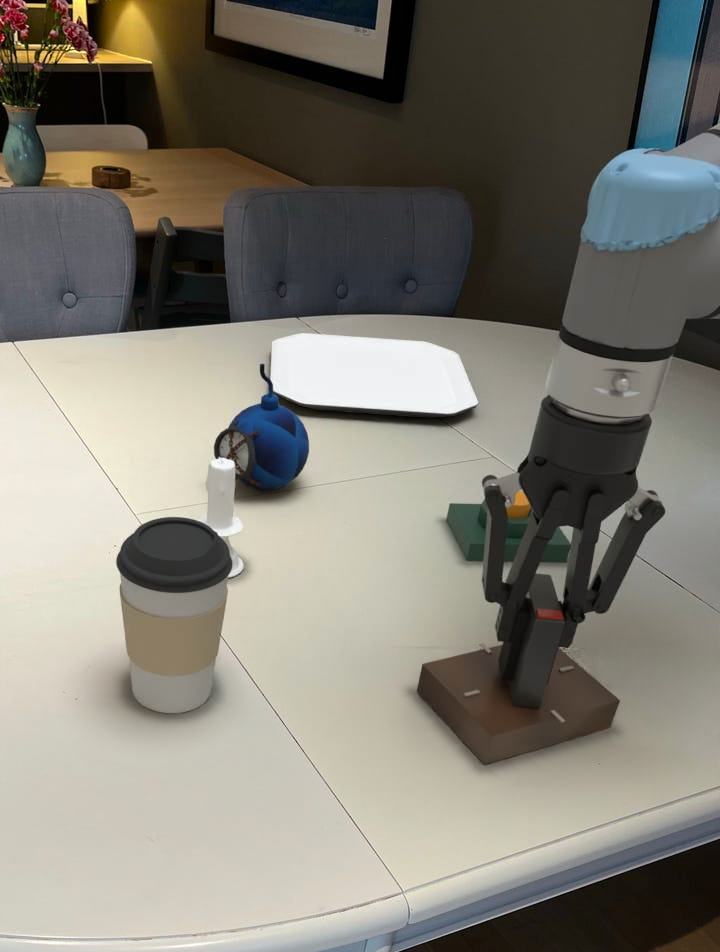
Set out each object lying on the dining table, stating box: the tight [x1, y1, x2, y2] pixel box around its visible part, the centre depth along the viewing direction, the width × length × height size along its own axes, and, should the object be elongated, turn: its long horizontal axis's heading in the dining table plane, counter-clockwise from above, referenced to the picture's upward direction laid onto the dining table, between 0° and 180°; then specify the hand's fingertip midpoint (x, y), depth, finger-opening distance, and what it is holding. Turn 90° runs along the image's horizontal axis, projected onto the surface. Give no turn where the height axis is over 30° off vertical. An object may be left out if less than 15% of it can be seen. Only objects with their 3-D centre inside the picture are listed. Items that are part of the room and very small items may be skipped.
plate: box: [269, 332, 479, 419], centre depth 145 cm, size 29×29×2 cm
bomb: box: [213, 363, 310, 491], centre depth 112 cm, size 10×11×15 cm
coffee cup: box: [115, 516, 233, 714], centre depth 80 cm, size 9×9×15 cm
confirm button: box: [506, 490, 531, 518], centre depth 106 cm, size 4×4×2 cm
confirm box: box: [445, 498, 571, 563], centre depth 108 cm, size 11×9×4 cm
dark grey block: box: [507, 572, 565, 708], centre depth 80 cm, size 7×2×9 cm, turn 174°
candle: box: [196, 457, 245, 579], centre depth 97 cm, size 5×5×12 cm
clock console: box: [416, 642, 621, 765], centre depth 84 cm, size 13×11×3 cm
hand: (522, 672), depth 82 cm, fingers closed on dark grey block, 2 cm apart
